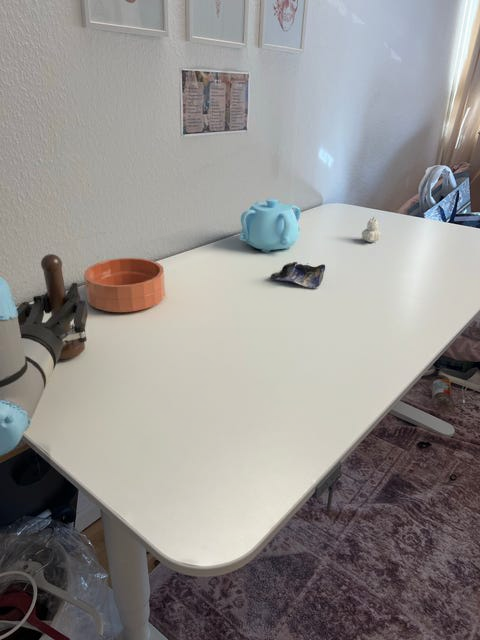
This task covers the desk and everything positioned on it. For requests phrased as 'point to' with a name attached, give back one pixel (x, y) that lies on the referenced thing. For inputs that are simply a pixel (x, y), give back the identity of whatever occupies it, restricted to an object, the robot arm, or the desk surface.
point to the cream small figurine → (371, 231)
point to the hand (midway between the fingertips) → (65, 290)
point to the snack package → (301, 274)
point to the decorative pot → (270, 225)
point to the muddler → (58, 299)
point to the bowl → (124, 284)
